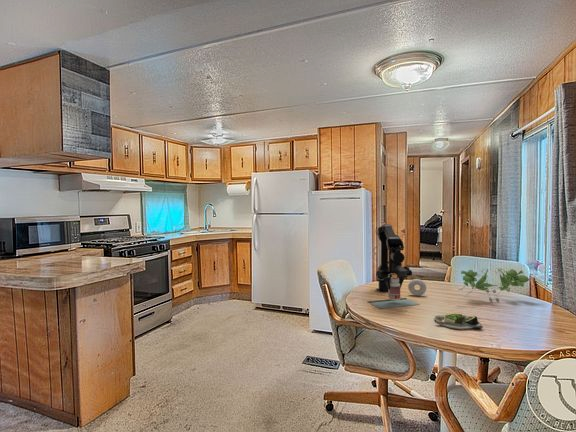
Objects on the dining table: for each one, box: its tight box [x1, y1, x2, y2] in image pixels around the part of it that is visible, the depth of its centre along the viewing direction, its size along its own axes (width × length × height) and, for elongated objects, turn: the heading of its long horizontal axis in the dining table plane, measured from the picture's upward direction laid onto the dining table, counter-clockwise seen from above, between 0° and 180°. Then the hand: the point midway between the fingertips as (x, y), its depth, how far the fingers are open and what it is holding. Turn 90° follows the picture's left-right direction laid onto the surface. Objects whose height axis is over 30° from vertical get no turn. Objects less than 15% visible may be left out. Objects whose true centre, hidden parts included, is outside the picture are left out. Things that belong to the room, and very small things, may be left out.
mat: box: [369, 298, 420, 310], centre depth 176 cm, size 10×24×1 cm, turn 105°
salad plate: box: [433, 313, 484, 331], centre depth 145 cm, size 19×18×5 cm
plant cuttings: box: [459, 268, 530, 304], centre depth 181 cm, size 35×17×22 cm
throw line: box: [367, 297, 408, 304], centre depth 183 cm, size 2×24×1 cm, turn 105°
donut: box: [407, 278, 427, 297], centre depth 192 cm, size 10×4×10 cm, turn 70°
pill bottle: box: [387, 276, 401, 301], centre depth 176 cm, size 6×6×11 cm
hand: (394, 288), depth 176 cm, fingers closed on pill bottle, 6 cm apart
